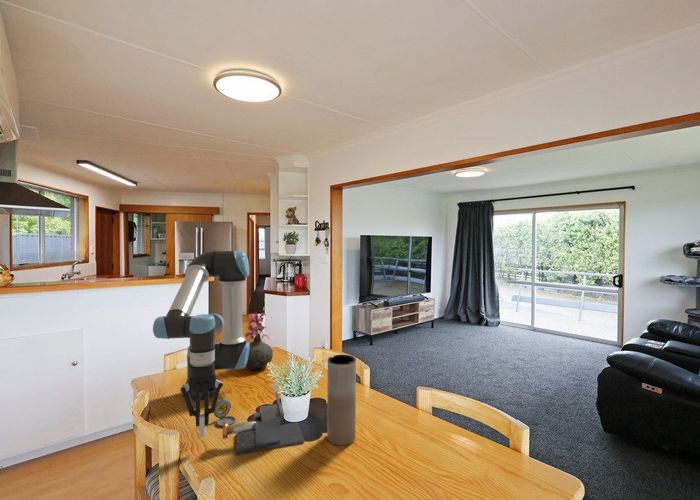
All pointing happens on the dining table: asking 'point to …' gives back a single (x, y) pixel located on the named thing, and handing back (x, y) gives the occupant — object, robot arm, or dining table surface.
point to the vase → (258, 346)
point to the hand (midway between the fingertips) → (202, 434)
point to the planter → (341, 399)
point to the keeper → (278, 401)
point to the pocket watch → (223, 412)
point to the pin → (238, 428)
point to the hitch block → (268, 433)
